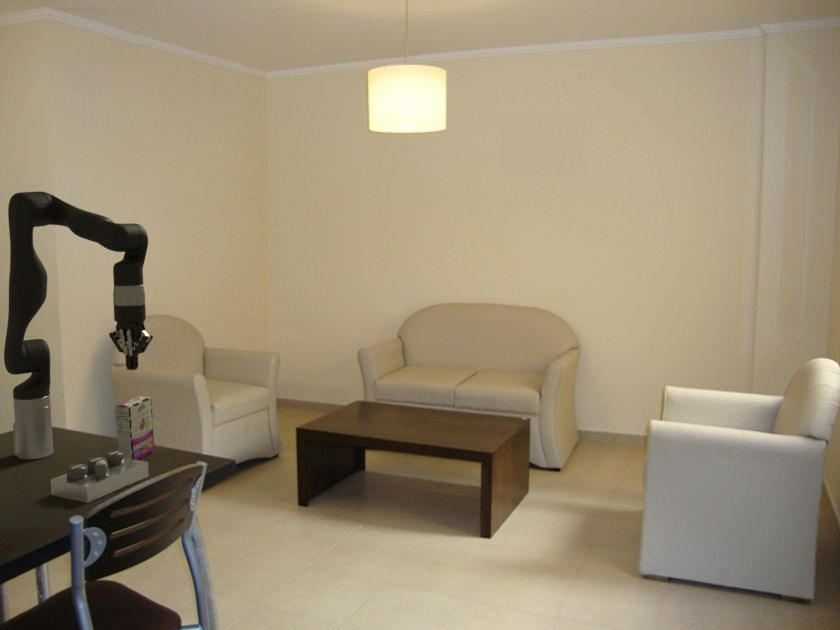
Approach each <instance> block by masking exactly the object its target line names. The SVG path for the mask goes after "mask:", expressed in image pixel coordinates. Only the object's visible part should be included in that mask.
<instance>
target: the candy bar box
mask: <svg viewBox="0 0 840 630" xmlns="http://www.w3.org/2000/svg"><path fill="white" fill-rule="evenodd" d="M152 408H153V406H152V396H143V395H142V396H141V395H136V396H135V397H132V398H130V399H128V400H125V401H123V402H121V403H119V404H116V405H115V406H114V410H115V411H114V412H115V426H116V440H117V441H116V442H117V443H116V445H117V450H120V451H124V458H129V459H134V460H140V461H141V459H143V458H145V457H147V456H148V455H149V454H150V455H151V454H152V453H153V452H154V451H155V440H154V439H155V438H154V422H153V409H152Z"/></svg>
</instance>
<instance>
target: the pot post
mask: <svg viewBox="0 0 840 630" xmlns="http://www.w3.org/2000/svg"><path fill="white" fill-rule="evenodd" d="M95 477H96V478H105V477H108V463H107V462H106V461H99V462H96V464H95Z"/></svg>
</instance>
